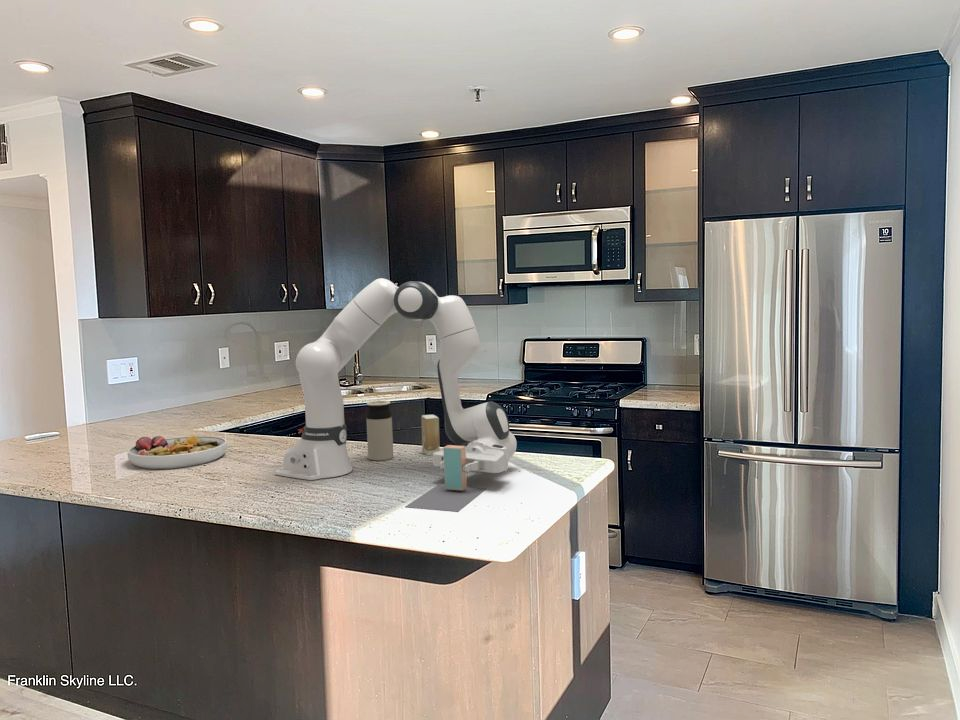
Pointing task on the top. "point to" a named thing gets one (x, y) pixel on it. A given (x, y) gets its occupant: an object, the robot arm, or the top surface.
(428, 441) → the skincare box
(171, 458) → the bowl
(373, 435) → the travel mug
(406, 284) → the robot arm
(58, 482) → the top surface
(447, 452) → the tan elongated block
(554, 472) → the top surface
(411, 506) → the mat
